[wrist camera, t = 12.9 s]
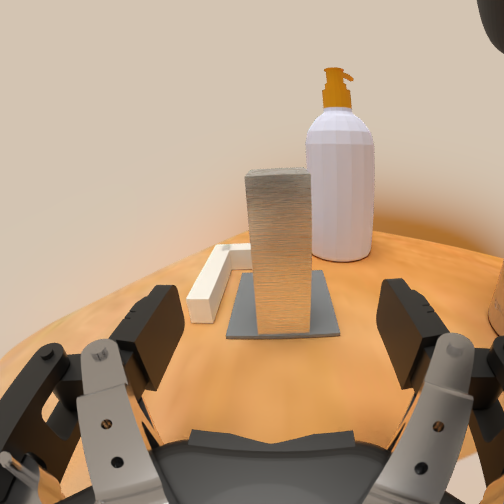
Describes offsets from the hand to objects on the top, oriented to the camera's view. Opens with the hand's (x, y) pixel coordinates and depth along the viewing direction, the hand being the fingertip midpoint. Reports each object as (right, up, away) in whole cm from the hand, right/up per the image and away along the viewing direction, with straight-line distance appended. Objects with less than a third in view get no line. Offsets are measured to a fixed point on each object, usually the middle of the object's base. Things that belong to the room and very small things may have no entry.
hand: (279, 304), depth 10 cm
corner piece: (-1, -2, +18) cm, 18 cm away
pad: (+2, -3, +16) cm, 16 cm away
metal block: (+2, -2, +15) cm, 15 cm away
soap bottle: (+11, +2, +26) cm, 28 cm away
